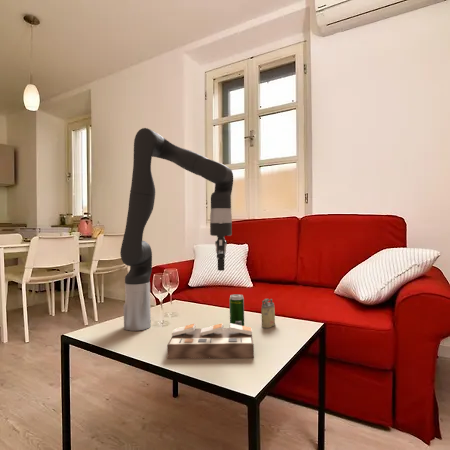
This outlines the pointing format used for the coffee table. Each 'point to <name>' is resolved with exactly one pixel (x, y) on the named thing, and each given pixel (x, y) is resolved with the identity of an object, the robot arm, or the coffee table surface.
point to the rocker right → (240, 329)
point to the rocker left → (183, 329)
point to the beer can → (237, 309)
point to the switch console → (210, 345)
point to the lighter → (268, 313)
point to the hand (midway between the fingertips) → (221, 268)
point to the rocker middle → (212, 329)
